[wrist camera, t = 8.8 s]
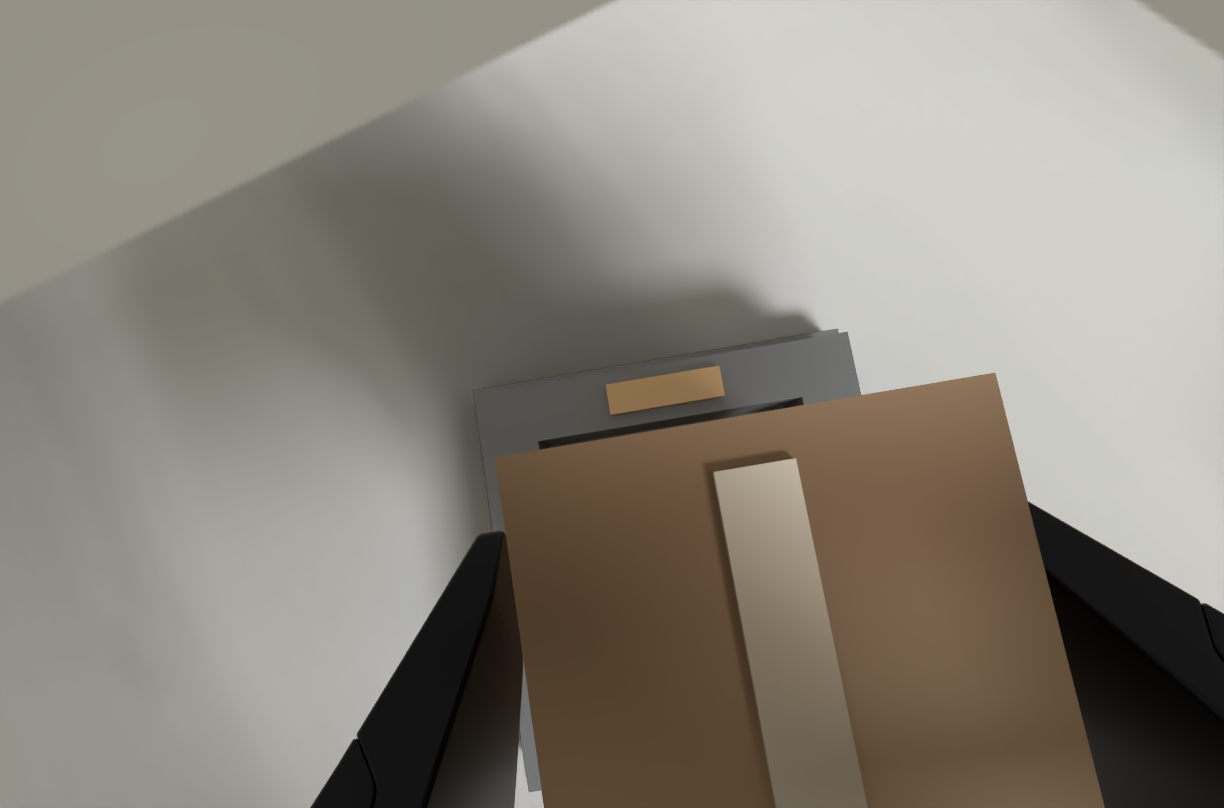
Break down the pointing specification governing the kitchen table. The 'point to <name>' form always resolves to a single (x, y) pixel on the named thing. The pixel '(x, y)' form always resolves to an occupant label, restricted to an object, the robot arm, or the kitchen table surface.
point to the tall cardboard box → (795, 613)
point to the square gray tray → (653, 412)
